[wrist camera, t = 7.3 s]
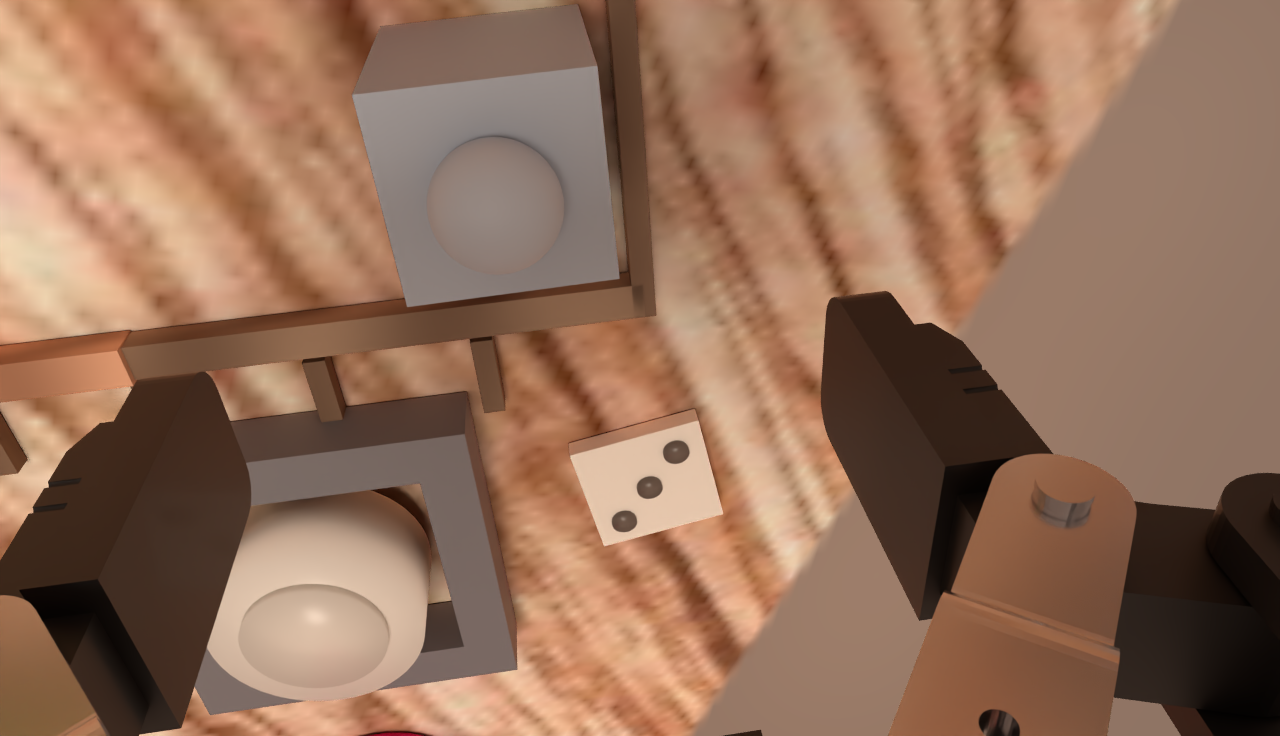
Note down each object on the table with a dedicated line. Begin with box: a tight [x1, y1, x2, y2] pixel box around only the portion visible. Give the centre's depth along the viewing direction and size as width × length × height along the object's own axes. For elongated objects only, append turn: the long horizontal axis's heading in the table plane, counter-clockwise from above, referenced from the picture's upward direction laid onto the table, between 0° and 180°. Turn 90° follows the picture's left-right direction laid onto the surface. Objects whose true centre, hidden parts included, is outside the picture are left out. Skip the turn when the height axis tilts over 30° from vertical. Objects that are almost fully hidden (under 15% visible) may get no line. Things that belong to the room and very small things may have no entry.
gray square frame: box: [195, 392, 517, 715], centre depth 28 cm, size 10×10×2 cm
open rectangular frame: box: [0, 0, 656, 476], centre depth 22 cm, size 23×14×1 cm, turn 94°
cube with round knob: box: [352, 4, 620, 307], centre depth 19 cm, size 4×4×7 cm
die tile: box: [568, 409, 723, 546], centre depth 29 cm, size 4×4×1 cm
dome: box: [207, 490, 431, 701], centre depth 27 cm, size 6×6×3 cm
